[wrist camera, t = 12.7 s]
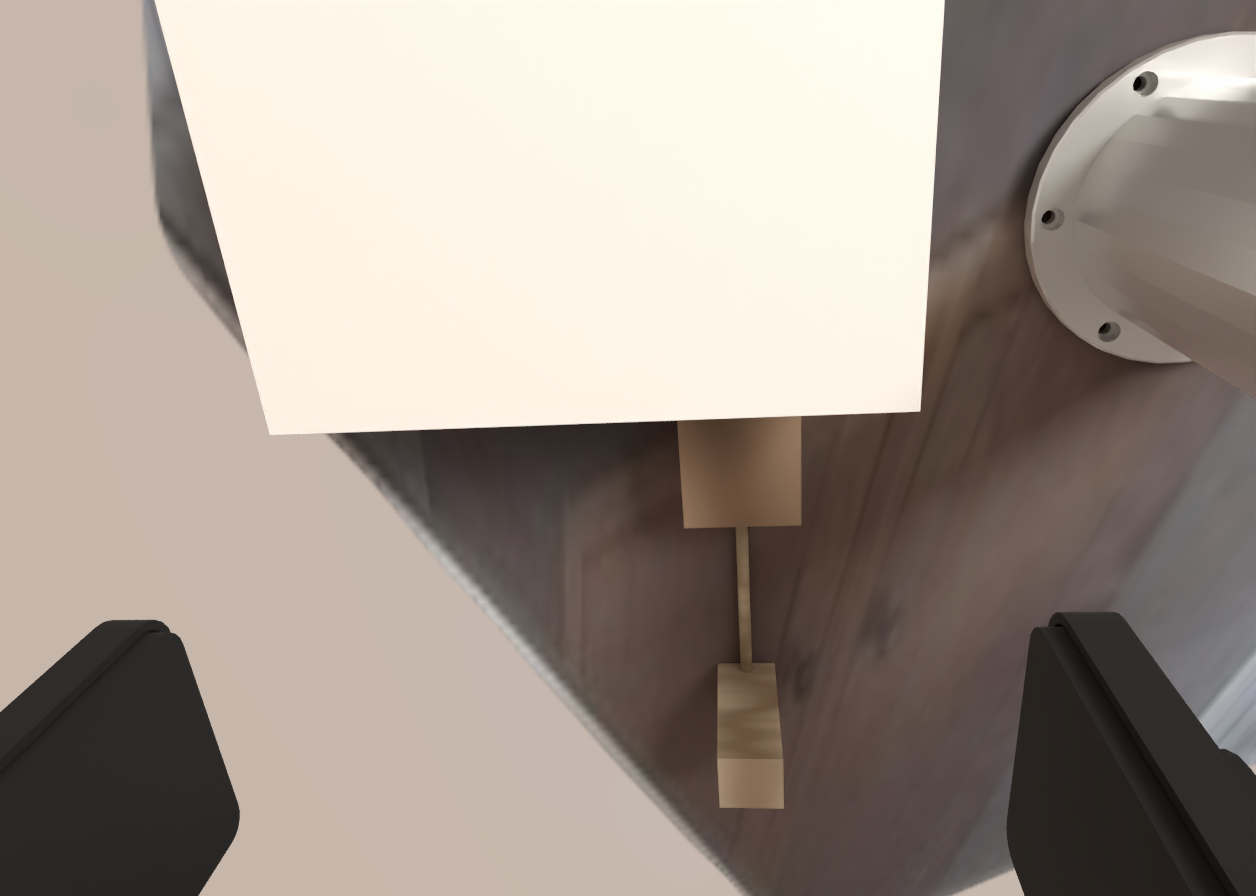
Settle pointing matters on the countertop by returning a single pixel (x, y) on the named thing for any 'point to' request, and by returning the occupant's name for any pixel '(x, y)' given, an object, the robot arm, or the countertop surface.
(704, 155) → the cubby shelf
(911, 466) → the countertop surface
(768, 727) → the wooden block tool
